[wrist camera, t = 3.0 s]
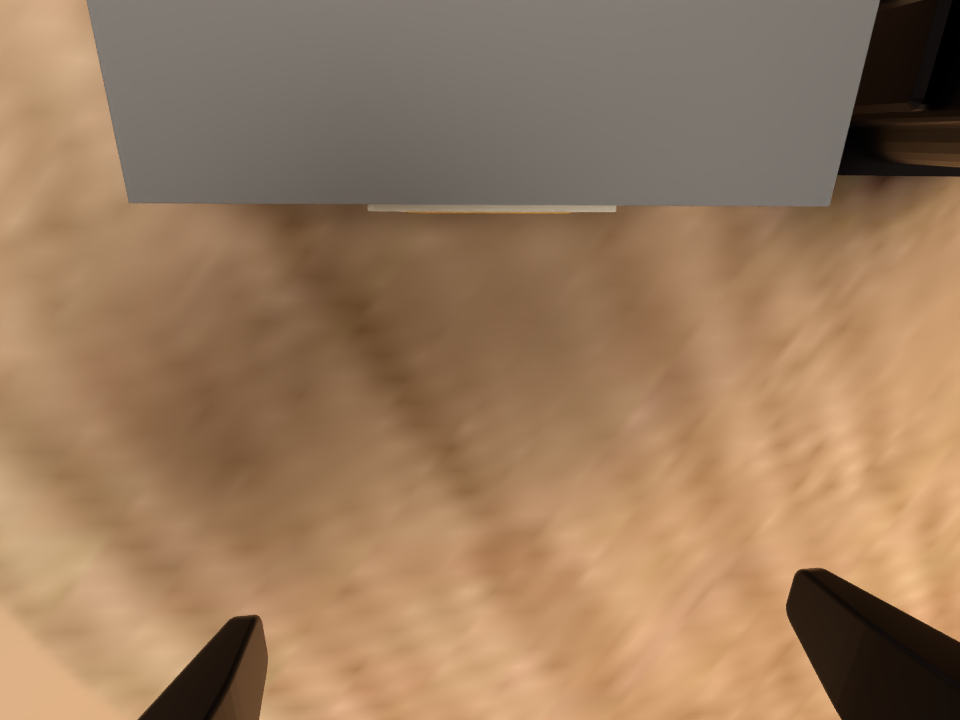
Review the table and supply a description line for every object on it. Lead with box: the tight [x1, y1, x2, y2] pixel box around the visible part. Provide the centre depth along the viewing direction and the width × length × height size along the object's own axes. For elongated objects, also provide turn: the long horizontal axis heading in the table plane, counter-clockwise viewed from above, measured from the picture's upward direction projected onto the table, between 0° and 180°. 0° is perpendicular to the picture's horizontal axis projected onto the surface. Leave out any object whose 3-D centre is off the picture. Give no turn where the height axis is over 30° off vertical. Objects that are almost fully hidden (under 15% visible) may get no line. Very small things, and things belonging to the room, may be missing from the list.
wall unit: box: [87, 0, 880, 214], centre depth 13 cm, size 14×8×8 cm, turn 89°
